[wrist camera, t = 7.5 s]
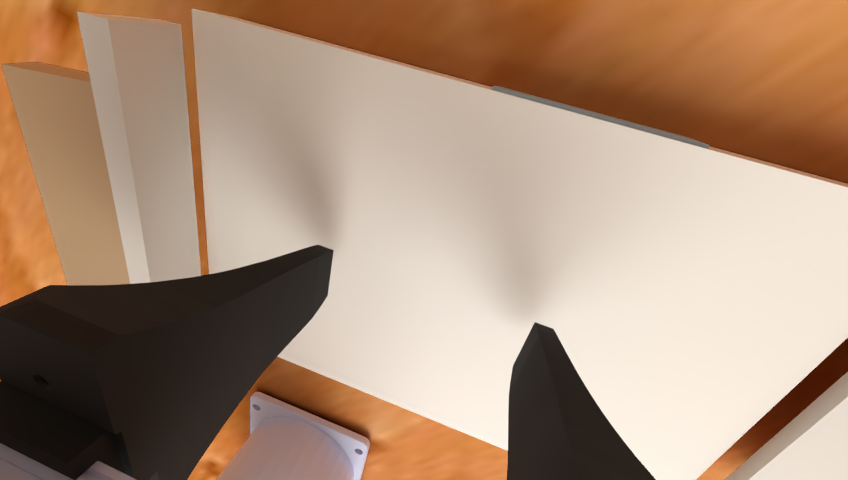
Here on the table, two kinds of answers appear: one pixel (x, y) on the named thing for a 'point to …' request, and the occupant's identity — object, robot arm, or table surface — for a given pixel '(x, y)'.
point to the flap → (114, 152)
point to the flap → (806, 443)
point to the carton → (517, 242)
